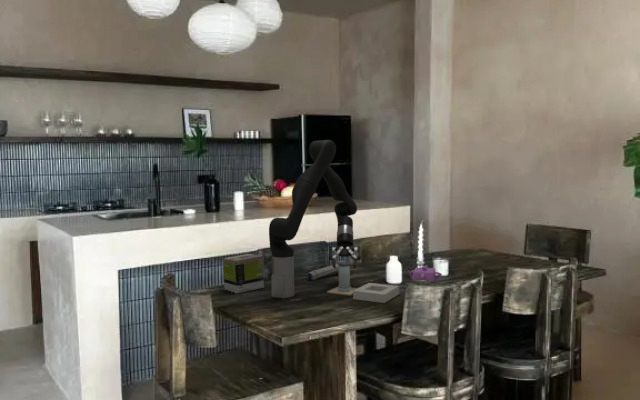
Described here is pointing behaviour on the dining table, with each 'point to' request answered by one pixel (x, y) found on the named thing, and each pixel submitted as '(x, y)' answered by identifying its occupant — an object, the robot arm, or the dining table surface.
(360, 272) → the dining table surface
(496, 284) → the dining table surface
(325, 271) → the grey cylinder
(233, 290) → the tea box
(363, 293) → the housing
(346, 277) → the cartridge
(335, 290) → the mat
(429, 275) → the teapot
